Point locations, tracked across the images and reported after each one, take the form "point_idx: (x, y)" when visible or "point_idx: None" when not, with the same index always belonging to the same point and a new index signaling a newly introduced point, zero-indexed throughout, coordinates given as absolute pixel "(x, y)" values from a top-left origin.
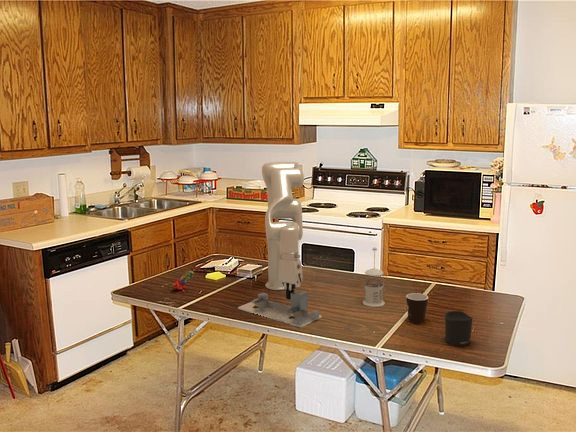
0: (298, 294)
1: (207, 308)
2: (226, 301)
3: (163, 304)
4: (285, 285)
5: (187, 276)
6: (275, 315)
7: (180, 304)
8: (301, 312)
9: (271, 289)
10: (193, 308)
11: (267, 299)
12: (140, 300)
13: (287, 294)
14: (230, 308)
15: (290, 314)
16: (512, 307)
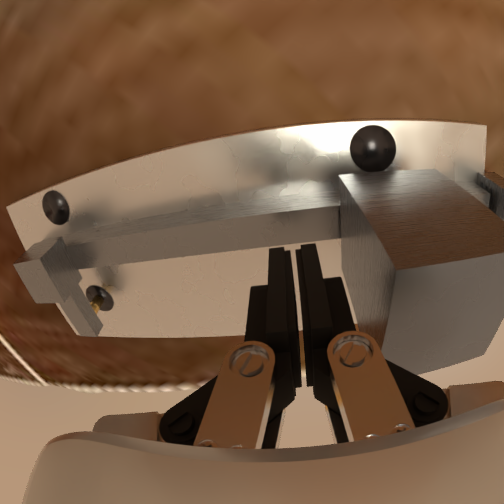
0: (462, 354)
1: (55, 364)
2: (9, 301)
3: (22, 379)
4: (263, 444)
5: None
6: None
7: (23, 369)
8: None
9: None
10: (50, 376)
11: (64, 244)
12: (4, 378)
13: (299, 348)
14: (68, 337)
15: (329, 244)
16: None
